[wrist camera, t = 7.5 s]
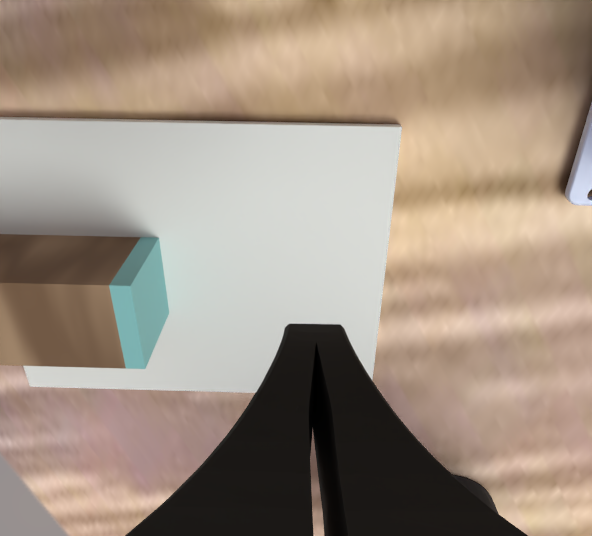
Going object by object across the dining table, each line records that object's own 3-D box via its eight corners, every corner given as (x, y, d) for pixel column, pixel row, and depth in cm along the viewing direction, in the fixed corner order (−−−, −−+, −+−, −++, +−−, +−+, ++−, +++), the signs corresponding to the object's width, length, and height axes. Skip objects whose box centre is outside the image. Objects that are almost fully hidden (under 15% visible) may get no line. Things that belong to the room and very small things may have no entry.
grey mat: (400, 124, 20) (401, 127, 19) (369, 390, 27) (370, 396, 26) (-54, 115, 20) (-61, 118, 20) (33, 381, 27) (30, 386, 27)
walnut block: (130, 285, 18) (-111, 280, 19) (145, 369, 20) (-73, 363, 21) (159, 237, 22) (-45, 233, 22) (169, 312, 24) (-17, 307, 24)
